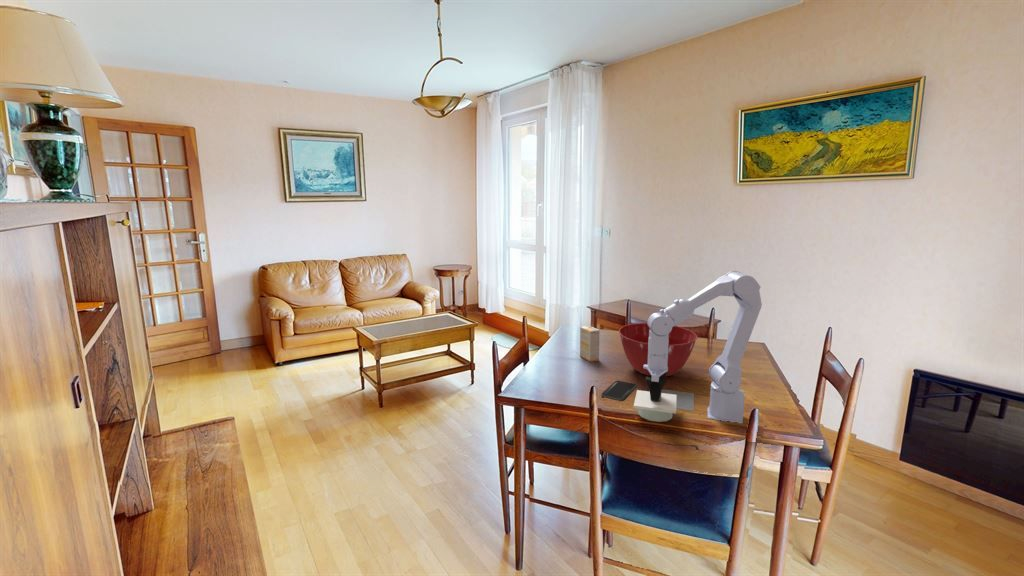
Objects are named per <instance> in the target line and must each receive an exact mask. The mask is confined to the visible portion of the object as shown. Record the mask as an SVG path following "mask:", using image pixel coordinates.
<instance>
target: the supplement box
mask: <svg viewBox="0 0 1024 576" xmlns="http://www.w3.org/2000/svg"><path fill="white" fill-rule="evenodd" d="M579 328H580V329H579V356H580V357H581V358H582V359H584V360H585V361H587V362H590V363H592V362H597V361H599V360H600V330H601V329H598V328H595V327H593V326H591V325H582V326H580V327H579Z"/></svg>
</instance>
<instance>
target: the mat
mask: <svg viewBox="0 0 1024 576" xmlns="http://www.w3.org/2000/svg"><path fill="white" fill-rule="evenodd" d="M661 391H662V392H661V393H666V394H675V395H677V396H676V410H684V411H691V412H692V411H693V412H695V411H694V409H695V406H694V405H695V393H694V392H686V391H677V390H671V389H663V388H662V390H661Z"/></svg>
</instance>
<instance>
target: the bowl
mask: <svg viewBox="0 0 1024 576" xmlns="http://www.w3.org/2000/svg"><path fill="white" fill-rule="evenodd" d="M637 414H638V415H639V416H640V417H641V418H643V419H645V420H647V421H651V422H657V423H659V422H668V421H670V420H671V419H673V414H674V413H667V412H659V411H652V410H644V409H637Z"/></svg>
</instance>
